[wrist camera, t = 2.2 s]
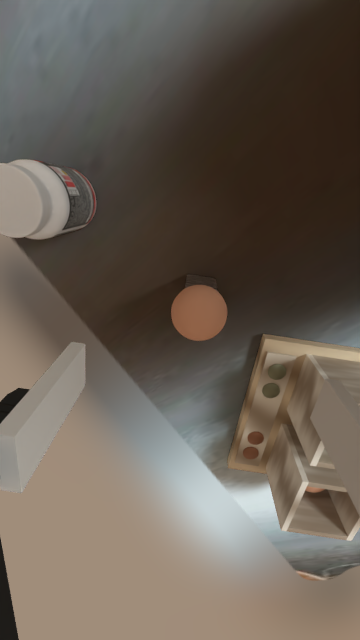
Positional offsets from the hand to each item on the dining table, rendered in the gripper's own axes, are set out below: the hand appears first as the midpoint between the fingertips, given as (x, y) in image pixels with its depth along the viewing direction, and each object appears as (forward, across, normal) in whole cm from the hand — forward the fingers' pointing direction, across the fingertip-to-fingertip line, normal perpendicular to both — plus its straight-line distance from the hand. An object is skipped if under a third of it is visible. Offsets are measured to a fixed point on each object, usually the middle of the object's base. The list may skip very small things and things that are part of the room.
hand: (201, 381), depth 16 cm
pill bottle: (+17, -14, +7) cm, 23 cm away
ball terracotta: (+10, 0, 0) cm, 10 cm away
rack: (+17, +15, -14) cm, 26 cm away
